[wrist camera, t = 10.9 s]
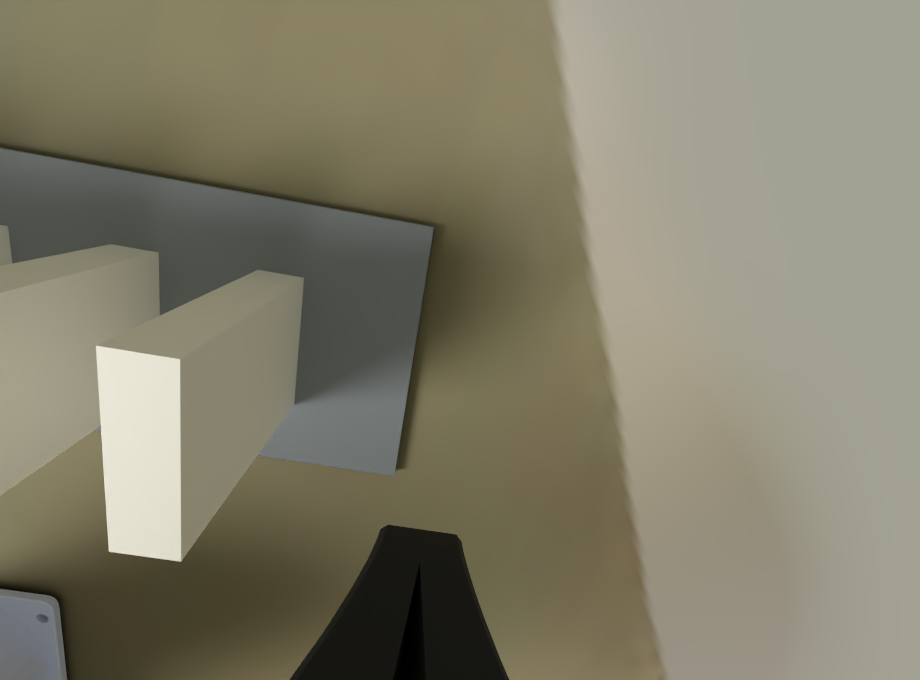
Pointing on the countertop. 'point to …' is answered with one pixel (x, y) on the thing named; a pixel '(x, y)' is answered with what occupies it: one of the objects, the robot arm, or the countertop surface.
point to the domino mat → (240, 253)
